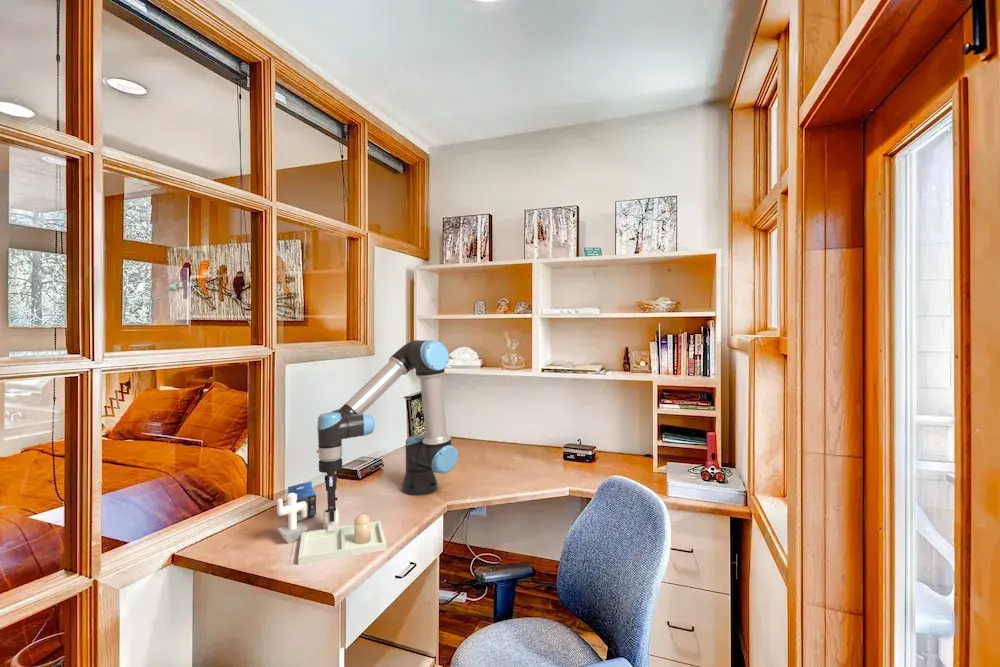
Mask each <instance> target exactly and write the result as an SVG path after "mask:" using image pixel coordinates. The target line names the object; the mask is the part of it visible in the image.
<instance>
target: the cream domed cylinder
mask: <svg viewBox="0 0 1000 667" xmlns="http://www.w3.org/2000/svg"><path fill="white" fill-rule="evenodd" d="M330 508H331V507H330ZM327 509H328V506H327V507H326V508H325V509H324V511H323V515H322V516H323V520H322V522H323V529H328V516H327V512H325V510H327ZM339 511H340V510H339V508H338V507H337V506H336V526H337V527H340V512H339Z"/></svg>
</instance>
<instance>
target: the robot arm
mask: <svg viewBox="0 0 1000 667" xmlns="http://www.w3.org/2000/svg"><path fill="white" fill-rule="evenodd" d="M449 359H450V353H449V351H448V349H447V347H446V345H444V343H442V342H440V341H438V340H432V339H430V340H426V339H425V340H419V339H417V340H411V341H409V342H407V343H406V344H404V345H403V346H401V347H400V348H398V350H397V351H395V353H393V354H392V355H391V356H390V357H389V359H388V362H387V363H386V364H385V365H384V366H383V367H382V368H381V369H380V370H379V371H378V372H377V373H376V374H375V375H374V376H373V377H371V379H370V380H368V381H367V383H365V385H363V386H362V387H361V388H360V389H359V390H358V391H357V392H356V393H354V394H353V396H351V398H349V400H348V401H347V402H345V403H344V404H343V405H342V406H341V407H340V408H337V409H334V410H332V411H330V412H326V413H325V412H323V413H321V414H319V415H318V417H317V427H316V429H317V443H318V446H317V447H318V449H317V450H316V453H317V454H318V459H319V460H318V471H319V472H320V473H322V474H325V473H326V475H324V483H325V491H326V492H327V496H326V497H327V498H326V499H327V507H328V509H327V510H325V509H324V510H325V512H327V516H328V532H329V531H335V530H337V526H336V507H337V501H338V497H336V490H337V487H338V486H337V482H338V475H337V473H336V472H339V471H341V470H342V469H343V459H342V457H343V443H342V441H343V440H344V439H352V438H357V437H365V436H368V435H371V434H373V433H374V430H375V427H376V426H375V425H376V423H375V420H374V416H373V415H371V414H370V413H365V412H366V411H367V410H368V409H369V408H371V406H373V404H375V402H376V401H377V400H378V399H380V397H381V396H382V395H384V393H385V392H386V391H387V390H388V389H389V388H390V387H392V386H393V384H395V382H397V381H398V379H399V378H401V377H402V376H405V375H407V374H408V373H409V372H410V371H412V370H415V376H416V377H417V378H419V382H420V390H421V391H420V392H421V401H422V409H423V410H422V411H423V421H424V430H425V431H424V432H425V434H418V435H412V436H409V437H407V438H406V439H405V446H404V447H405V474H404V477H403V481H402V485H401V491H402V492H403V493H404V494H406V495H409V496H411V495H412V496H422V495H427V494H431V493H434V492H435V491H437V490H438V480H437V477H436V474H442V475H444V474H448V473H450V472H451V471H452V470H453V469H454V468H455V466H456V464H457V463H458V458H459V452H458V450H457V448H456V447H455V446H454V445H453V444H452V437H451V436H450V435H449V434H448V433H447V432H448V431H447V421H446V409H445V402H444V401H445V399H444V390H443V388H444V387H443V380H442V378H443V375H444V374H445V372H446V370H445V368H446V367H447V365H448V364H449ZM364 413H365V414H364ZM330 507H331V508H330Z"/></svg>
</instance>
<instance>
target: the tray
mask: <svg viewBox="0 0 1000 667" xmlns="http://www.w3.org/2000/svg"><path fill="white" fill-rule="evenodd" d="M381 521H382V520H376V521H370V525H371V540H370V542H368V543H366V544H356V543H355V538H354V524H350V525H349V524H348V525H343V526H339V527H337V530H335V531H329V532H328V529H324V528H323V529H315V530H309V531H308V530H307V531H306V532H302V535H301V537H300V543H299V551H298V558H297V559H298V560H297V562H298V563H297V564H298V566H301V565H306V564H312V563H317V562H323V561H324V562H325V561H330V560H336V559H341V558H346V557H352V556H357V555H358V556H359V555H364V554H365V555H366V554H369V553H375V552H381V551H387V539H386V536H385V532H384V530H383V529H384V528H383V525H382V522H381Z"/></svg>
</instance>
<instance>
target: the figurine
mask: <svg viewBox="0 0 1000 667" xmlns="http://www.w3.org/2000/svg"><path fill="white" fill-rule="evenodd" d="M283 501H284V500H283V499H282V498H277V500H276V513H277V515H278V516H279V517H283V516H286V515H287V520H288V521H287V522H288V523H287V525H283V526H281V527H277V530H278V532H279V534H280V536H281V537H282V540H283V541H285V542H286V543H287V544H291V543H295V542H297V541H298V539H301V535H302V532H308V526H306V525H304V524H303V523H302V522H301V521H298V522H297V511H301V512H302V517H303V518H305V517H307V503H306V502H305V501H302V502H298V503H297V494H296V493H289V494H288V493H287V502H286V503H287V505H285V506H284V505H283V504H284V502H283Z"/></svg>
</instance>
